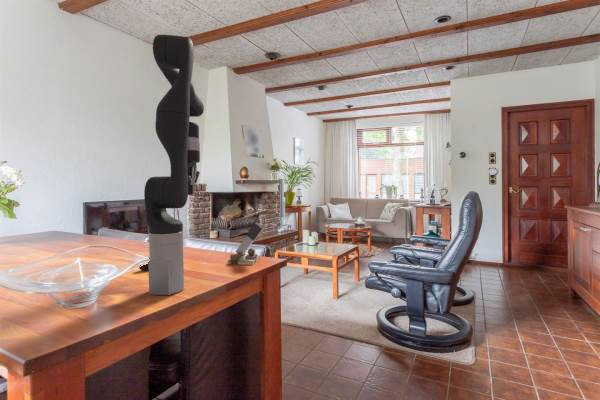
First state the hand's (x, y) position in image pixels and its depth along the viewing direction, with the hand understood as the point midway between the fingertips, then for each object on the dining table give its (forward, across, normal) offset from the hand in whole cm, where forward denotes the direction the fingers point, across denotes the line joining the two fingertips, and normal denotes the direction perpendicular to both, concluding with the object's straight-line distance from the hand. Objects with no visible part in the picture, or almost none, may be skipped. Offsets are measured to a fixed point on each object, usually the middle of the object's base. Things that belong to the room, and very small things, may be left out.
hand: (190, 194), depth 134 cm
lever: (+24, +5, -18) cm, 30 cm away
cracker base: (+27, +5, -20) cm, 34 cm away
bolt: (+27, -8, +8) cm, 30 cm away
